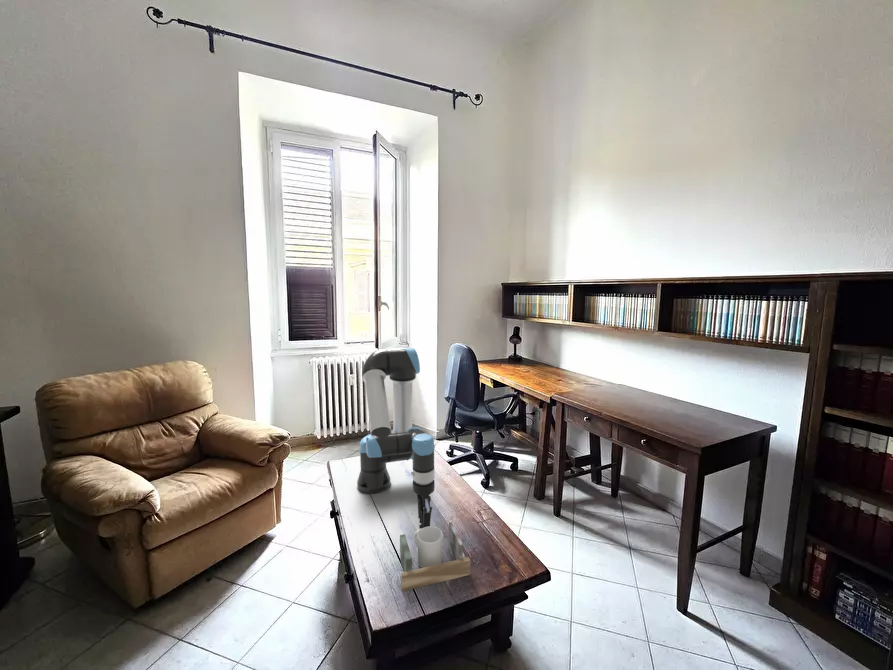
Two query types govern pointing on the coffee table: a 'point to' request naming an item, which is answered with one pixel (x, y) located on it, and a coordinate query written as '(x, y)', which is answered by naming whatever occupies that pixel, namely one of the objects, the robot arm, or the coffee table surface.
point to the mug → (429, 546)
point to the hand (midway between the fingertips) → (424, 541)
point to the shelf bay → (435, 572)
